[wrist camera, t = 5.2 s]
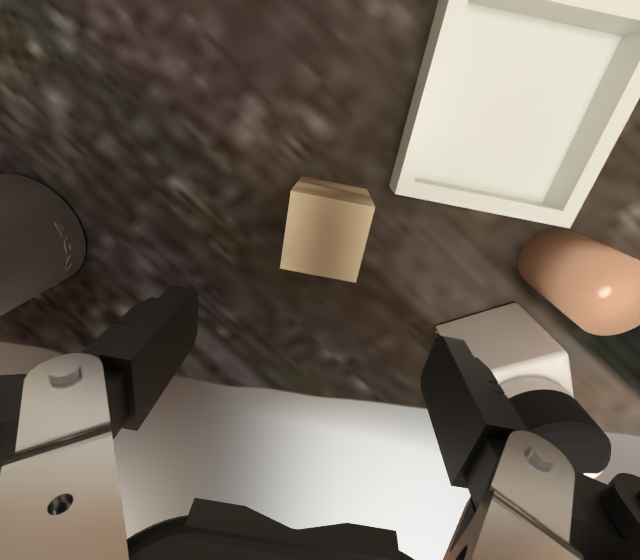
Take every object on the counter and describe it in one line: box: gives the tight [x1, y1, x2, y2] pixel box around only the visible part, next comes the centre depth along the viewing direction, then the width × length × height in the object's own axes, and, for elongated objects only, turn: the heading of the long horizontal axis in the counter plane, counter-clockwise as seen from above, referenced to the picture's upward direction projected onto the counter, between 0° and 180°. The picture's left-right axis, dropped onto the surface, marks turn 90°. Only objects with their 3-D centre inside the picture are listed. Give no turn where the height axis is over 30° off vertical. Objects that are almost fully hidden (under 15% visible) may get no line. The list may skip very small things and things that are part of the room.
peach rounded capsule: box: [517, 228, 640, 335], centre depth 23 cm, size 5×5×7 cm
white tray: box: [389, 0, 640, 228], centre depth 20 cm, size 12×12×3 cm
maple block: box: [280, 176, 375, 283], centre depth 23 cm, size 5×5×6 cm
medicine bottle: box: [435, 303, 611, 479], centre depth 24 cm, size 7×7×12 cm
